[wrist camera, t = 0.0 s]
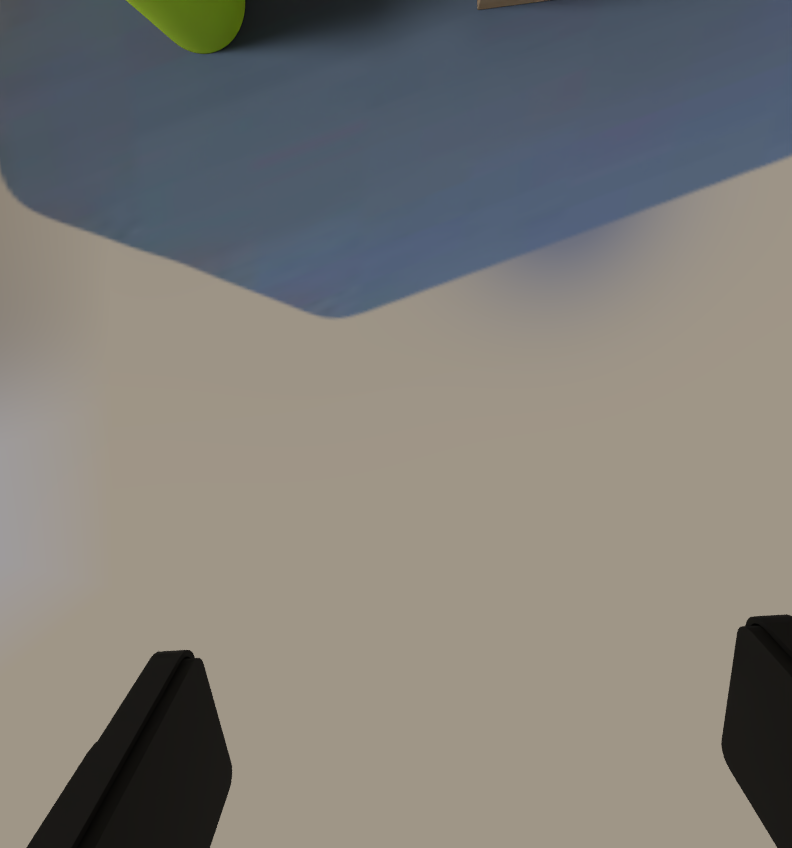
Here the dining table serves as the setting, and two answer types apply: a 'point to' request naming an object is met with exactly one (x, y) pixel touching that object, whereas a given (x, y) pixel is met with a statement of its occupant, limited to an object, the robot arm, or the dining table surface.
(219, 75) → the dining table surface
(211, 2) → the green soap pump bottle
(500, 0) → the socket block
